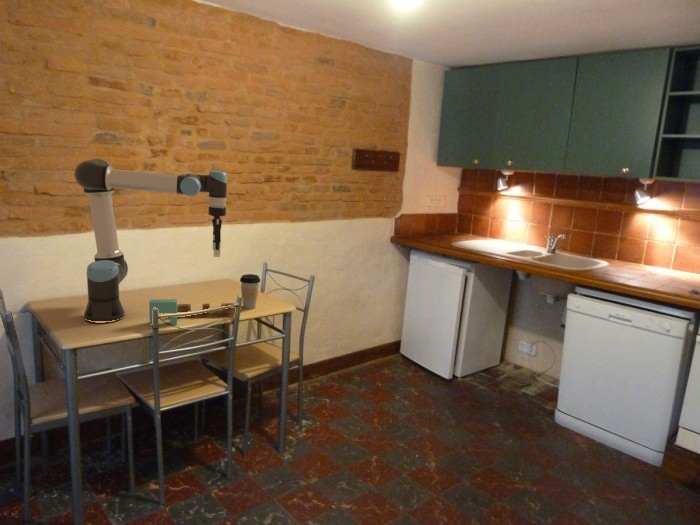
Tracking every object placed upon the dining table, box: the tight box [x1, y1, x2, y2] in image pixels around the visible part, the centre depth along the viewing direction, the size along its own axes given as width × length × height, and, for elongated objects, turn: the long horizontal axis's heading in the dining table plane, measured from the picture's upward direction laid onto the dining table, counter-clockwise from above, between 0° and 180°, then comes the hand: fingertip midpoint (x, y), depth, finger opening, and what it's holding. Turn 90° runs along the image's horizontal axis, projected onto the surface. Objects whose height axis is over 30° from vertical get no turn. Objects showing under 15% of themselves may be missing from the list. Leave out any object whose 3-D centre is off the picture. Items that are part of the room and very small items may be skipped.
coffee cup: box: [239, 273, 261, 310], centre depth 239 cm, size 9×9×15 cm
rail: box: [177, 302, 235, 319], centre depth 225 cm, size 24×6×5 cm, turn 106°
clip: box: [148, 298, 178, 326], centre depth 211 cm, size 10×4×10 cm, turn 106°
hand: (216, 253), depth 230 cm, fingers open, 13 cm apart
